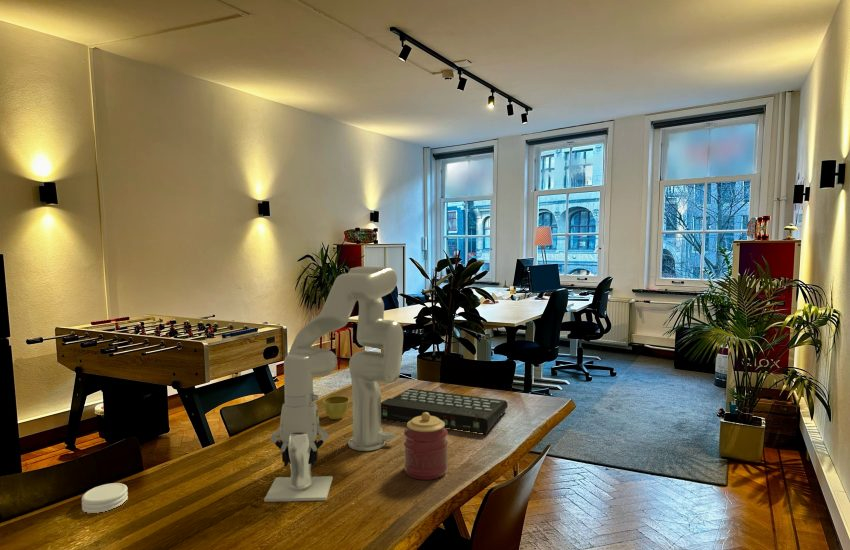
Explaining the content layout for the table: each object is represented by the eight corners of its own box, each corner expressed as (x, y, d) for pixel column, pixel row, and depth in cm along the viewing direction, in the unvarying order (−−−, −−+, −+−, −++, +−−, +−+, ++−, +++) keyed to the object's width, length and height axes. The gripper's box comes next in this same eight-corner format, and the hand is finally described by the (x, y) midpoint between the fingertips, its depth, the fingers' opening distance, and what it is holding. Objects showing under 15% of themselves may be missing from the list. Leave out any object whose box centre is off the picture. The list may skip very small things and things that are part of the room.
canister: (452, 479, 140) (452, 418, 139) (407, 482, 138) (406, 421, 137) (442, 460, 153) (442, 404, 152) (401, 463, 151) (401, 406, 150)
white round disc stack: (77, 518, 121) (76, 504, 120) (87, 499, 130) (86, 486, 129) (124, 509, 124) (124, 496, 124) (130, 492, 134) (130, 479, 133)
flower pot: (353, 418, 191) (353, 400, 190) (329, 423, 185) (329, 405, 185) (343, 411, 199) (342, 394, 199) (319, 416, 193) (319, 398, 193)
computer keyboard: (507, 413, 198) (507, 397, 198) (487, 437, 173) (487, 418, 173) (407, 399, 217) (407, 384, 216) (376, 419, 191) (376, 402, 191)
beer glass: (307, 491, 130) (306, 435, 129) (283, 488, 132) (281, 434, 131) (318, 478, 137) (317, 426, 136) (295, 476, 138) (294, 424, 137)
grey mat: (332, 478, 140) (332, 476, 140) (326, 500, 128) (326, 497, 128) (276, 480, 140) (276, 477, 140) (264, 501, 128) (264, 498, 128)
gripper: (333, 394, 137) (334, 457, 138) (270, 396, 136) (271, 458, 137) (328, 403, 130) (330, 469, 131) (262, 404, 129) (264, 470, 130)
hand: (300, 463), depth 134 cm, fingers open, 6 cm apart
